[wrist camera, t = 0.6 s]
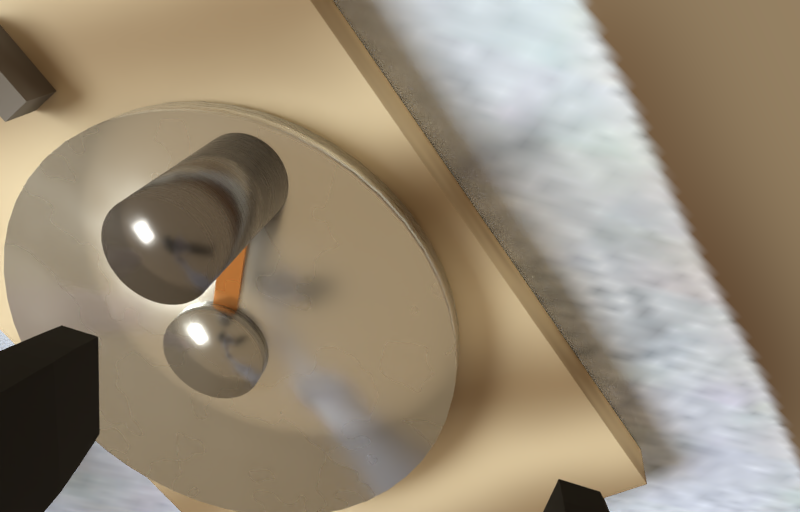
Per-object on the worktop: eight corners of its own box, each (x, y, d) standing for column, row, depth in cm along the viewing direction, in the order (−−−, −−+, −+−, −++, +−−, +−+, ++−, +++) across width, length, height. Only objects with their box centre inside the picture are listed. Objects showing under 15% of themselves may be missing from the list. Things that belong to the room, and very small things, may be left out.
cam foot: (395, 543, 23) (358, 697, 19) (33, 418, 24) (-89, 536, 20) (527, 193, 17) (519, 299, 12) (17, 35, 17) (-175, 77, 13)
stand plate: (640, 449, 22) (652, 514, 19) (286, 572, 28) (262, 633, 26) (143, -276, 15) (68, -313, 13) (-167, 102, 22) (-255, 125, 19)
